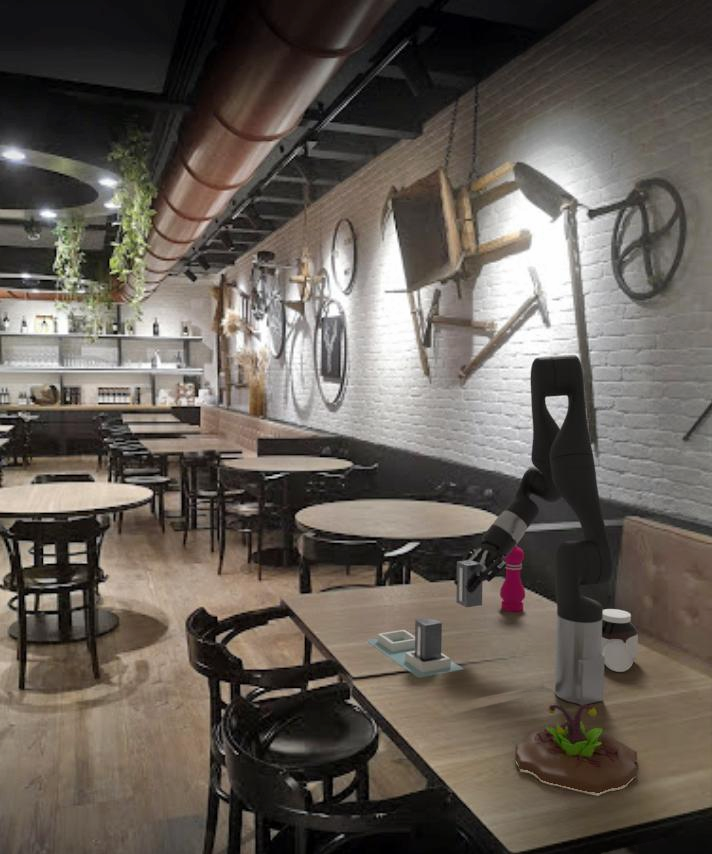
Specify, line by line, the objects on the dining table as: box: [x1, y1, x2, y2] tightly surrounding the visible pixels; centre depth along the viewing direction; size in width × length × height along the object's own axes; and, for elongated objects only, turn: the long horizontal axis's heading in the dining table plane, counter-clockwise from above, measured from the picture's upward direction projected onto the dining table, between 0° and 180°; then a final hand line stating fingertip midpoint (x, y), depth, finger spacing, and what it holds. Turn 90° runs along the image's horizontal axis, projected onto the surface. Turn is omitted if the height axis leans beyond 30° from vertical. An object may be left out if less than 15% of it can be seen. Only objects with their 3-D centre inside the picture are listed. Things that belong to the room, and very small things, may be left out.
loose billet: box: [455, 560, 483, 608], centre depth 181 cm, size 4×5×10 cm
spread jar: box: [601, 608, 639, 673], centre depth 179 cm, size 12×11×12 cm
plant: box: [514, 704, 638, 793], centre depth 133 cm, size 20×20×11 cm
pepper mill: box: [499, 543, 526, 613], centre depth 221 cm, size 7×7×20 cm
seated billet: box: [414, 617, 443, 662], centre depth 174 cm, size 4×5×10 cm
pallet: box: [365, 629, 464, 679], centre depth 181 cm, size 26×12×4 cm, turn 26°
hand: (462, 587), depth 181 cm, fingers closed on loose billet, 4 cm apart
